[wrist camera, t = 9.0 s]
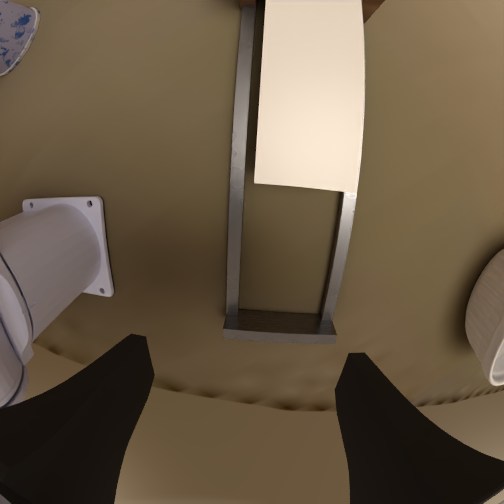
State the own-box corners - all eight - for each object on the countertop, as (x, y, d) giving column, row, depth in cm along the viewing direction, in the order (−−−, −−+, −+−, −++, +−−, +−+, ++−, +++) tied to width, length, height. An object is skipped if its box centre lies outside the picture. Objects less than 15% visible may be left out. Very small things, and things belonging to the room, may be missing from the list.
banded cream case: (257, 173, 16) (252, 183, 11) (268, -17, 11) (268, -59, 6) (331, 180, 16) (357, 193, 11) (337, -8, 11) (356, -46, 6)
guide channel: (227, 317, 20) (222, 337, 18) (243, 10, 12) (240, -8, 10) (328, 323, 20) (334, 343, 17) (360, 24, 12) (371, 10, 9)
